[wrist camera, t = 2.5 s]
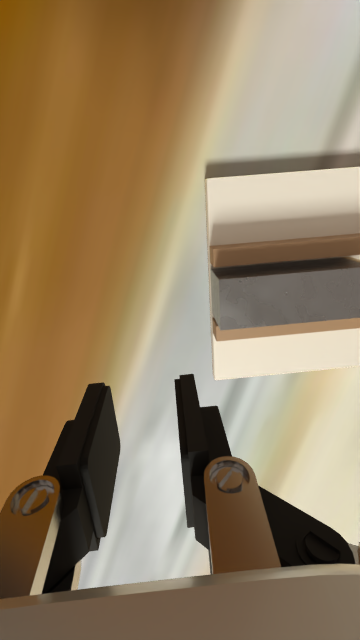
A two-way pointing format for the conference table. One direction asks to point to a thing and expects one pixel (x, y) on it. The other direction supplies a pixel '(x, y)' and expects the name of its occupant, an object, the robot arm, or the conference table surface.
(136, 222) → the conference table surface
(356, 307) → the bolt
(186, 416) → the robot arm
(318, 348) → the lock board
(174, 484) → the conference table surface
